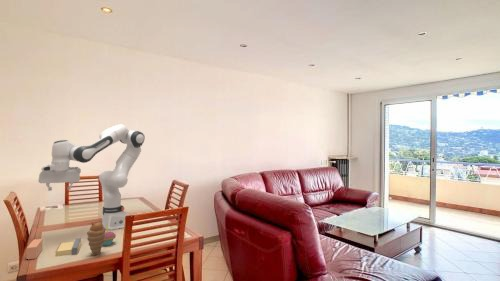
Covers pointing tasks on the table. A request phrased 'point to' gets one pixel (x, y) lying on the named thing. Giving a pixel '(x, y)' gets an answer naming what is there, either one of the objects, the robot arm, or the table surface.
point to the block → (34, 249)
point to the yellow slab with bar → (69, 248)
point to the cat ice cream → (96, 237)
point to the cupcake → (108, 237)
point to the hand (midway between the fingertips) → (59, 190)
